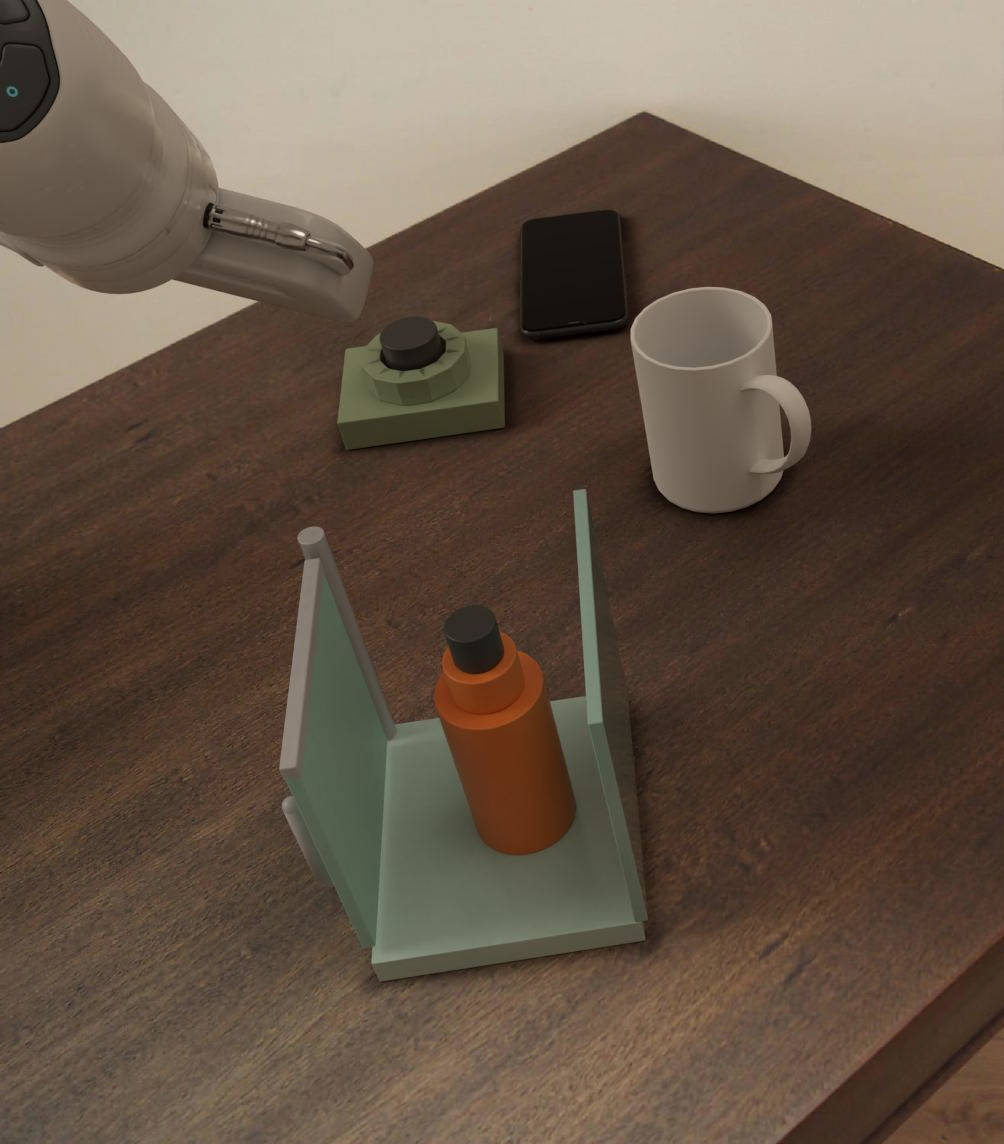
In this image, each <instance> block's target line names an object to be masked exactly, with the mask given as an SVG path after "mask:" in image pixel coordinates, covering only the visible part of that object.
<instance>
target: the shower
mask: <svg viewBox="0 0 1004 1144" xmlns="http://www.w3.org/2000/svg"><path fill="white" fill-rule="evenodd" d="M588 497H589V496H588V491H587V489H586V488H581V489H574V490H573V492H572V498H573V500H572V501H573V513H574V528H575V529H574V531H575V546H576V561H577V576H578V579H577V580H578V592H579V594H578V595H579V610H580V625H581V626H580V627H581V640H582V642H581V643H582V656H583V657H582V658H583V672H584V687H585V688H584V689H585V695H582V696H577V697H576V696H575V697H569V698H562V699H556V700H555V699H554V700H550V704H551V708H552V711H553V715H554V719H555V723H556V727H557V731H558V734H559V738H560V742H561V746H562V750H563V754H564V758H565V761H566V765H567V769H568V773H569V777H570V781H571V785H572V788H573V792H574V796H575V800H576V814H575V818H574V821H573V823H572V825H571V827H570V828H569V830H568V831H567V833H566V834H565V835H564V836H563V837H562V838H561V839H560V840H559V841H557V842H556V843H555V844H553V845H551V846H550V847H548V848H546V849H544V850H541V851H539V852H535V853H531V854H526V855H510V854H505V853H501V852H498V851H496V850H494V849H492V848H491V847H489V846H488V845H487V844H485V842H484V841H483V840H482V839H481V837H480V836H479V834H478V832H477V829H476V826H475V823H474V820H473V817H472V814H471V811H470V808H469V805H468V802H467V799H466V796H465V793H464V790H463V787H462V784H461V781H460V779H459V776H458V773H457V770H456V767H455V764H454V761H453V758H452V755H451V752H450V749H449V746H448V743H447V740H446V737H445V734H444V731H443V728H442V725H441V722H440V719H439V717H434V718H428V719H421V720H416V721H415V720H414V721H408V722H400V723H396V722H395V720H394V717H393V714H392V711H391V708H390V706H389V704H388V701H387V698H386V696H385V692H384V690H383V687H382V684H381V683H380V682H381V681H380V680H379V676H378V673H377V671H376V668H375V665H374V663H373V660H372V657H371V655H370V652H369V649H368V646H367V644H366V641H365V638H364V635H363V633H362V631H361V628H360V624H359V622H358V619H357V616H356V613H355V612H354V608H353V606H352V603H351V600H350V597H349V595H348V592H347V589H346V588H345V584H344V581H343V579H342V575H341V573H340V570H339V568H338V566H337V565H338V564H337V562H336V560H335V557H334V555H333V552H332V549H331V545H330V543H329V541H328V537H327V535H326V532H325V530H324V529H323V528H322V527H320V526H317V525H316V526H308V527H306V528H303V529H302V530H301V531H300V532H299V533H298V535H297V537H296V539H297V542H298V545H299V548H300V550H301V553H302V556H303V557H304V561H305V560H309V559H316V558H319V559H320V560H321V563H322V566H323V568H324V574H325V577H326V579H327V582H328V585H329V587H330V590H331V593H332V595H333V598H334V601H335V603H336V606H337V608H338V611H339V614H340V616H341V619H342V622H343V624H344V627H345V630H346V632H347V635H348V638H349V640H350V643H351V646H352V648H353V651H354V653H355V656H356V659H357V661H358V664H359V667H360V669H361V672H362V675H363V677H364V680H365V683H366V685H367V688H368V691H369V693H370V696H371V698H372V701H373V704H374V706H375V709H376V712H377V714H378V717H379V720H380V722H381V725H382V728H383V730H384V733H385V736H386V738H387V757H386V774H385V792H384V809H383V826H382V844H381V861H380V878H379V896H378V913H377V930H376V945H375V946H374V947H371V962H370V964H371V966H372V968H373V970H374V973H375V975H376V977H377V979H378V981H379V982H380V983H381V982H388V981H394V980H399V979H400V980H401V979H407V978H414V977H419V976H420V977H421V976H426V975H431V974H432V975H433V974H439V973H446V972H452V971H459V970H464V969H465V970H466V969H470V968H477V967H478V968H479V967H484V966H491V965H497V964H503V963H510V962H516V961H523V960H528V959H535V958H542V957H547V956H555V955H561V954H567V953H568V954H569V953H574V952H581V951H587V950H593V949H600V948H607V947H612V946H619V945H626V944H631V943H637V942H644V941H646V938H647V937H646V926H645V922H646V921H648V919H649V914H648V904H647V894H646V893H647V892H646V881H645V871H644V859H643V858H644V857H643V849H642V837H641V826H640V815H639V803H638V791H637V781H636V771H635V759H634V747H633V746H634V745H633V736H632V724H631V715H630V713H631V712H630V704H629V703H630V702H629V692H628V686H627V680H626V675H625V671H624V666H623V661H622V656H621V650H620V647H619V641H618V637H617V633H616V628H615V622H614V618H613V612H612V607H611V603H610V599H609V594H608V593H609V592H608V588H607V584H606V579H605V574H604V568H603V564H602V560H601V555H600V549H599V545H598V540H597V536H596V530H595V526H594V521H593V516H592V510H591V506H590V502H589V498H588Z"/></svg>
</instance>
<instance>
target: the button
mask: <svg viewBox="0 0 1004 1144" xmlns="http://www.w3.org/2000/svg"><path fill="white" fill-rule="evenodd" d="M433 321H434V320H432V319H431V318H428V317H424V316H419V315H418V316H417V315H416V316H415V315H414V316H406V317H401V318H399V319H396V320H394V321H392V322H390V323H388V324H387V325H386V326H384V328H383V329H382V330H381V332H380V333H379V334H380V337H379V340H380V343H381V347H382V350H383V353H384V357H385V360H386V363H387V365H388V366H389V367H390V368H392V369H394V370H398V371H410V370H417V369H422V368H424V367H426V366H428V365H431V364H433V363H435V362H437V361H438V360H439V358H440V357H441V355H442V351H443V348H442V344H441V341H440V337H439V333H438V329H437V326H436V324H435V323H434V322H433Z"/></svg>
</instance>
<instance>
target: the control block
mask: <svg viewBox="0 0 1004 1144" xmlns="http://www.w3.org/2000/svg"><path fill="white" fill-rule="evenodd" d="M432 321H433V322H434V323H435V324H436V326H437V329H438V333H439V337H440V341H441V344H442V348H443V351H442V355H441V357H440V358H439V360H438V361H437V362H435V363H433V364H431V365H428V366H426V367H424V368H422V369H417V370H410V371H398V370H394V369H392V368H390V367H389V366H388V365H387V363H386V360H385V357H384V353H383V350H382V347H381V343H380V340H379V337H380V333H378V334H376V335H375V336H374V337H373V338H372V339H371V340H370V341H369V343H367V344H366V345H364V346H356V347H350V348H349V347H348V348H346V349H345V351H344V359H343V368H342V377H341V387H340V394H339V402H338V403H339V405H338V412H337V421H336V422H337V427H338V429H339V434H340V436H341V438H342V439H341V440H342V441H343V445H344V448H345V450H346V451H351V450H357V449H363V448H373V447H377V446H384V445H392V444H399V443H400V444H401V443H406V442H407V443H408V442H412V441H413V442H414V441H420V440H428V439H434V438H435V439H436V438H443V437H448V436H455V435H464V434H469V433H470V434H471V433H476V432H477V433H478V432H483V431H484V432H485V431H491V430H497V429H504V428H506V417H505V415H506V414H505V413H506V410H505V409H506V407H505V353H504V350H503V345H502V342H501V336H500V332H499V328H498V327H493V328H486V329H478V330H472V331H464V332H462V331H460V330H459V329H458V328H456V327H455V326H454V325H453V324H451V323H446V322H441V321H436V320H432Z"/></svg>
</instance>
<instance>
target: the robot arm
mask: <svg viewBox="0 0 1004 1144" xmlns="http://www.w3.org/2000/svg"><path fill="white" fill-rule="evenodd" d="M0 246H1V247H4V248H5V249H8V250H10V251H12V252H13V253H15V254H17V255H19V256H21V257H22V258H23V259H25V260H26V261H28V262H30V263H31V264H33V265H35V266H36V267H41V268H42V267H45V268H47V269H49V270H50V271H52V272H53V273H55V274H56V275H58V276H59V277H61V278H62V279H64V280H65V281H67V282H69V283H71V284H73V285H75V286H78V287H79V288H82V289H86V290H89V291H92V292H96V293H99V294H109V295H129V294H136V293H141V292H145V291H149V290H152V289H155V288H158V287H160V286H162V285H164V284H166V283H168V282H170V281H177V282H180V283H183V284H188V285H192V286H196V287H199V288H203V289H208V290H212V291H216V292H219V293H224V294H227V295H231V296H234V297H235V296H236V297H240V298H243V299H247V300H251V301H255V302H259V303H263V304H266V305H270V306H271V305H272V306H274V307H278V308H282V309H287V310H290V311H295V312H299V313H301V314H302V313H303V314H307V315H310V316H315V317H318V318H322V319H326V320H330V321H335V322H340V323H350V322H351V323H352V322H355V321H357V320H358V319H360V316H361V314H362V312H363V310H364V307H365V304H366V300H367V296H368V293H369V290H370V286H371V282H372V276H373V272H374V259H373V256H372V255H371V253H370V252H369V251H368V250H367V248H365V247H364V246H363V245H362V244H361V243H360V242H359V240H357V239H356V238H355V237H354V236H353V235H352V234H350V233H349V232H348V231H346V230H345V229H344V228H343V227H341V225H338V224H337V223H336V222H333V221H332V220H330V219H329V218H327V217H324V216H321V215H319V214H316V213H314V212H311V211H308V210H305V209H302V208H299V207H295V206H293V205H289V204H285V203H281V202H276V201H273V200H268V199H266V198H262V197H257V196H253V195H250V194H246V193H241V192H238V191H233V190H230V189H226V188H223V187H219V180H218V177H217V172H216V169H215V167H214V163H213V161H212V159H211V156H210V154H209V153H208V151H207V149H206V148H205V146H204V145H203V143H202V142H201V140H200V139H199V138H198V136H197V135H196V134H195V133H194V132H193V131H192V130H191V129H190V128H189V126H188V125H187V124H186V123H185V122H184V121H183V120H182V119H181V117H180V116H179V115H178V114H177V113H176V112H175V110H174V109H173V108H172V107H171V106H170V105H169V103H168V102H166V100H165V99H164V98H163V97H162V96H161V95H160V94H159V93H158V92H157V91H156V90H155V89H154V88H153V87H152V86H150V85H149V84H148V83H146V82H145V81H144V80H143V78H142V76H141V74H139V72H138V70H137V69H136V67H135V66H134V65H133V63H132V62H131V60H130V59H129V58H128V57H127V56H126V55H125V53H123V51H122V50H121V49H120V48H119V47H118V45H116V44H115V43H114V42H113V41H112V39H110V37H109V36H108V35H107V34H106V33H105V32H103V30H102V29H100V27H99V26H98V25H96V24H95V23H94V22H93V21H92V20H91V19H90V18H89V17H88V16H86V14H85V13H83V12H82V11H81V10H79V9H78V8H77V6H74V4H72V3H71V2H70V1H69V0H0Z"/></svg>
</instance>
